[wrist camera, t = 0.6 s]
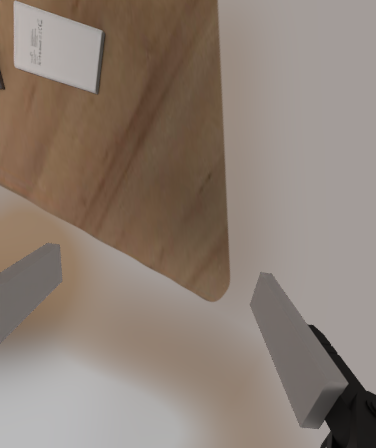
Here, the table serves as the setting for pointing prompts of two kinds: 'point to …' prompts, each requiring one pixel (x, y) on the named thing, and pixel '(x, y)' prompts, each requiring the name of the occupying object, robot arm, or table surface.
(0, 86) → the plate
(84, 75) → the external hard drive
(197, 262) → the table surface
